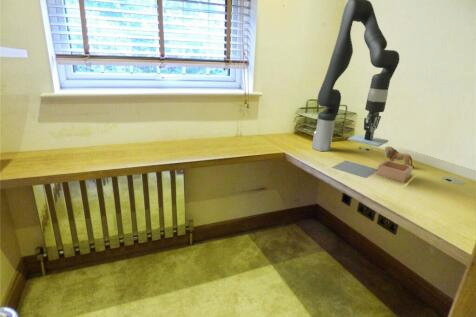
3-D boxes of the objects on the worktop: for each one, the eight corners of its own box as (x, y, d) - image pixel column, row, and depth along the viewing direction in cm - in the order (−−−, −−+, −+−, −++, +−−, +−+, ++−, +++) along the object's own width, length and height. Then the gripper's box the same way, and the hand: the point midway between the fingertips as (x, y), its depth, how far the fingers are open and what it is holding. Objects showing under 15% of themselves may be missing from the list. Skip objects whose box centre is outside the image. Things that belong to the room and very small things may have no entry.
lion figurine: (381, 164, 143) (385, 147, 140) (380, 161, 148) (384, 144, 145) (414, 170, 138) (419, 152, 135) (413, 166, 143) (417, 149, 140)
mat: (331, 168, 133) (331, 167, 133) (345, 161, 144) (345, 160, 144) (365, 179, 123) (366, 178, 123) (378, 170, 134) (378, 169, 134)
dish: (376, 175, 128) (378, 165, 126) (384, 169, 136) (386, 159, 134) (403, 183, 121) (406, 172, 119) (409, 176, 129) (412, 166, 127)
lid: (347, 139, 127) (350, 127, 125) (359, 135, 136) (361, 123, 134) (377, 146, 119) (380, 133, 117) (388, 141, 128) (391, 129, 126)
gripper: (373, 97, 129) (365, 135, 134) (361, 99, 119) (353, 139, 125) (391, 100, 124) (382, 138, 130) (380, 102, 114) (371, 143, 120)
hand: (368, 138), depth 127 cm, fingers closed on lid, 3 cm apart
